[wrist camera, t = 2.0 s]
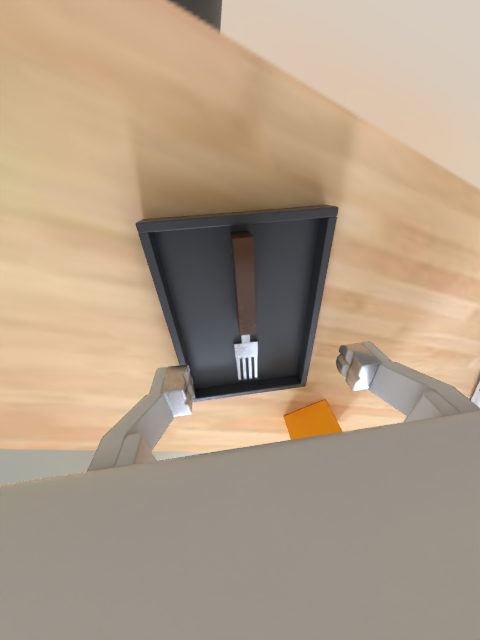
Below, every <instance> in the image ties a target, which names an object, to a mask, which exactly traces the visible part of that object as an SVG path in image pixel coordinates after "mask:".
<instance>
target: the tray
mask: <svg viewBox="0 0 480 640" xmlns="http://www.w3.org/2000/svg"><path fill="white" fill-rule="evenodd" d="M337 213H338V207H336V206H329V205H321V206H308V207H295V208H283V209H270V210H258V211H245V212H232V213H220V214H207V215H194V216H182V217H169V218H156V219H144V220H141V221H139V222H137V223H136V227H137V230H138V232H139V237H140V240H141V243H142V246H143V249H144V253H145V256H146V259H147V262H148V265H149V269H150V272H151V275H152V278H153V281H154V284H155V288H156V291H157V294H158V297H159V300H160V304H161V307H162V310H163V313H164V316H165V319H166V323H167V326H168V329H169V332H170V335H171V338H172V342H173V345H174V348H175V351H176V354H177V358H178V361H179V364H180V366H181V365H189V368H190V375H191V376H192V379H193V388H194V390H193V395H192V396H191V399H192V402H197V401H204V400H211V399H219V398H226V397H233V396H240V395H247V394H254V393H262V392H269V391H276V390H283V389H290V388H297V387H305V386H306V381H307V376H308V370H309V365H310V360H311V354H312V349H313V343H314V338H315V333H316V327H317V322H318V316H319V311H320V306H321V300H322V295H323V289H324V284H325V278H326V273H327V268H328V262H329V257H330V251H331V246H332V241H333V235H334V230H335V224H336V219H337V217H336V216H337ZM237 231H249V232H250V233H251V234H252V235H253V236H254V250H255V303H256V334H251V335H250V340H257V341H258V357H257V367H258V378H257V379H254V359H253V357H251V358H252V379H250V380H249V374H248V358H246V374H247V380H243V368H242V359H240V369H241V381H238V375H237V365H236V359H235V351H234V342H241V336H240V333H239V328H238V323H237V314H236V301H235V289H234V276H233V264H232V251H231V239H230V232H237Z"/></svg>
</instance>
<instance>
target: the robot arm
mask: <svg viewBox="0 0 480 640" xmlns="http://www.w3.org/2000/svg"><path fill="white" fill-rule="evenodd" d="M339 352H340V353H341V354H340V355H339V356H338V357H337V360H336V364H337V368H338V371H339V372H340V374H342V375H343V376H345V377H346V382H347V383H348V385H349V386H350V388H351V389H352V390H353V391H356V390H365V389H369V391H371V392H372V393H374V394H375V395H377V396H378V397H380V398H381V399H383V400H384V401H386V402H387V403H389V404H390V405H392V406H393V407H394V408H396V409H397V410H399V411H400V412H402V413H403V414H405V415H406V416H407V418H406V419H405V421H404V422H403V423H397V424H391V425H384V426H378V427H371V428H365V429H359V430H352V431H346V432H339V433H333V434H326V435H320V436H313V437H307V438H301V439H294V440H288V441H282V442H275V443H269V444H262V445H256V446H250V447H243V448H237V449H230V450H224V451H217V452H211V453H204V454H198V455H192V456H185V457H179V458H172V459H166V460H159V461H157V460H156V459H155V457H154V455H153V454H152V452H151V451H152V450H153V448H154V447H155V445H156V444H157V442H158V441H159V439H160V438H161V436H162V435H163V433H164V432H165V430H166V429H167V427H168V426H169V424H170V423H171V421H172V420H173V418H174V417H175V416H181V415H187V414H191V411H192V399H191V396H192V395H193V390H194V388H193V379H192V376H191V375H190V368H189V365H181V366H171V367H163V368H158V369H157V370H156V373H155V376H154V380H153V383H152V386H151V389H150V392H149V395H145V396H144V397H143V398H142V399H141V400H140V401H139V402H138V403H137V404H136V405H135V406H134V407H133V408H132V409H131V410H130V411H129V412H128V413H127V414H126V415H125V416H124V417H123V418H122V419H121V420H120V421H119V422H118V423H117V424H116V425H115V426H114V427H113V428H112V429H111V430H110V431H108V432H107V433H106V434H105V435H104V436H103V437H102V439H101V441H100V444H99V446H98V448H97V450H96V452H95V455H94V457H93V459H92V461H91V464H90V466H89V468H88V470H87V472H81V473H75V474H69V475H62V476H56V477H50V478H43V479H36V480H30V481H23V482H18V483H11V484H4V485H0V640H480V408H479V407H478V406H477V405H476V404H474V403H473V402H472V401H471V400H469V399H468V398H467V397H466V396H464V395H463V394H462V393H461V392H460V391H458V390H457V389H456V388H455V387H453V386H451V385H448V384H446V383H444V382H441V381H439V380H437V379H434V378H432V377H430V376H427V375H425V374H423V373H420V372H418V371H416V370H413V369H411V368H409V367H406V366H404V365H402V364H399V363H397V362H392V361H391V360H390V359H389V358H388V357H387V356H386V355H385V354H383V353H382V352H381V351H380V350H379V349H378V348H377V347H376V346H375V345H374V344H373V343H371V342H362V343H355V344H348V345H342V346H341V347H340V349H339Z"/></svg>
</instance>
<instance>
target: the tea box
mask: <svg viewBox="0 0 480 640" xmlns="http://www.w3.org/2000/svg"><path fill="white" fill-rule="evenodd" d="M471 401H472V402H473V403H474V404H476V405H477V406H478V407H479V408H480V381H479V384H478V385H477V388H476V390H475V393H474V395H473V397H472V399H471Z"/></svg>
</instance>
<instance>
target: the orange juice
mask: <svg viewBox="0 0 480 640" xmlns="http://www.w3.org/2000/svg"><path fill="white" fill-rule="evenodd" d="M284 419H285V422H286V425H287V429H288V432H289V435H290V438H291V440H294V439H301V438H307V437H313V436H320V435H326V434H333V433H339V432H343V431H342V430H341V428H340V426H339V424H338V422H337V420H336V419H335V417H334V415H333V413H332V411H331V409H330V407H329V406H328V404H327V402H326V400H323V401H320V402H318V403H315V404H313V405H310V406H308V407H305V408H303V409H300V410H298V411H295V412H293V413H290V414H288V415H285V416H284Z"/></svg>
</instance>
